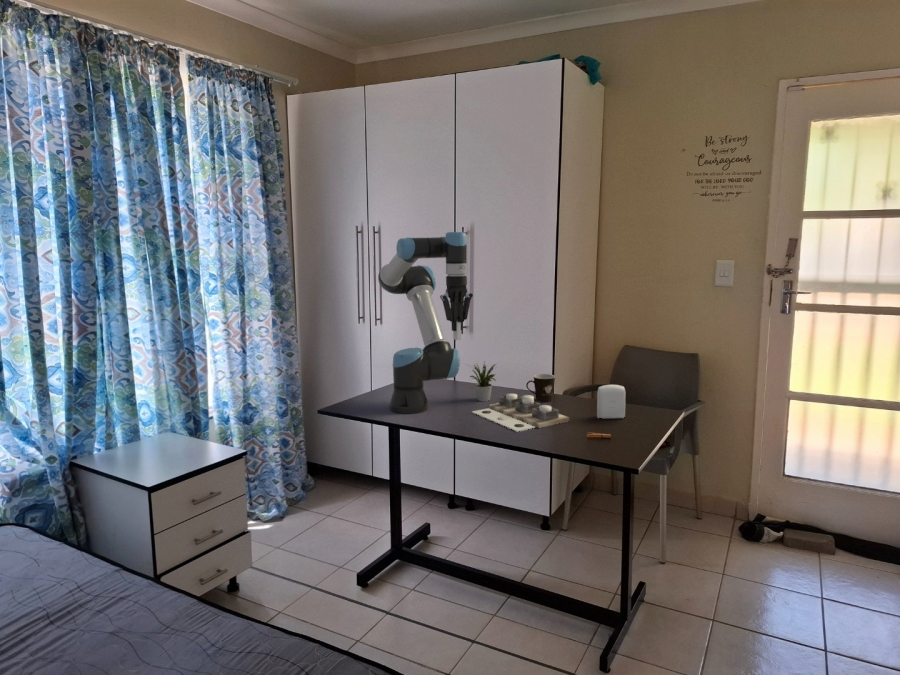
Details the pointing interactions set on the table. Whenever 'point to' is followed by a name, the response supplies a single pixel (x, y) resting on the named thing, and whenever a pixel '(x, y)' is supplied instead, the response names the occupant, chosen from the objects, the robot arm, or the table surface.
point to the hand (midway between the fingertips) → (457, 339)
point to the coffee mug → (543, 387)
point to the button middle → (527, 400)
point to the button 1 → (511, 396)
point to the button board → (528, 412)
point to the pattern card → (503, 419)
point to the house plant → (483, 383)
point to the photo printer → (611, 401)
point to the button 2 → (545, 408)
